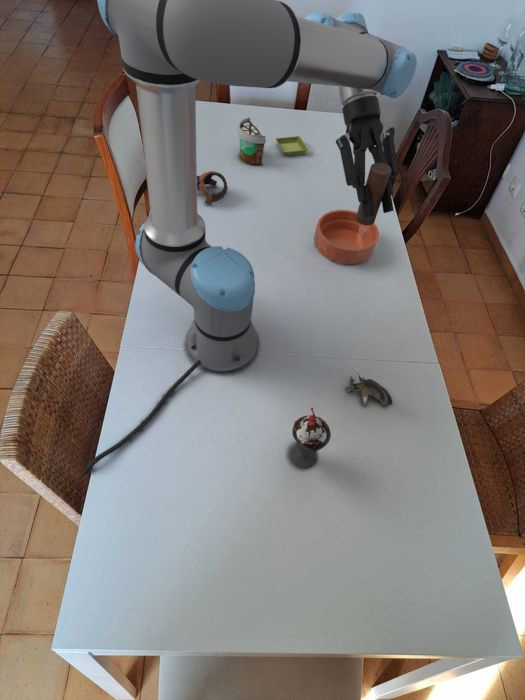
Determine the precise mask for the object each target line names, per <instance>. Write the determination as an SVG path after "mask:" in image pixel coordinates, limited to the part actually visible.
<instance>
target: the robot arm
mask: <svg viewBox="0 0 525 700" xmlns="http://www.w3.org/2000/svg"><path fill="white" fill-rule="evenodd" d="M97 6H98V10H99V14H100V16H101V20H102V21H103V23H104V25H105V26H106V27H107V29H108V31H109V32H110V33H111V34H112V35H113V36H114V37H115V38H117V39H118V41H119V48H120V55H121V64H122V70H123V73H124V74H125V75H126V76H127V77H128V78H129V79H131V81H133V82H134V83H135V89H136V97H137V105H138V115H139V124H140V125H139V126H140V133H141V142H142V152H143V159H144V167H145V168H144V169H145V179H146V186H147V187H146V188H147V196H148V204H149V213H150V214H149V215H147V216H146V218H145V219H144V222H143V223H142V225H141V226H140V228H139V232H140V233H138V234H137V235H136V238H135V252H136V256H137V258H138V260H139V261H140V263H141V264H142V265H143V267H144V268H145V269H146V270H147V271H148V272H149V273H151V274H152V275H153V276H155V277H156V278H157V279H159V280H160V281H161V282H162V283H163V284H165V286H167V287H168V288H169V289H171V290H172V291H174V293H176V294H177V295H178V296H179V297H180V298H182V299H183V300H184V301H185V302H186V303H187V304H189V306H191V307H192V309H193V317H194V319H193V322H192V324H191V326H190V328H189V331H188V333H187V341H186V342H187V350H188V353H189V355H190V357H191V359H192V360H193V361H194V363H193V364H192V365H191V367H189V369H187V370H186V371H185V372H184V373H183V374H182V375H181V376H180V378H178V379H177V380H176V382H174V383H173V384H172V386H171V387H170V388H168V390H167V391H166V392H165V394H164V395H163V396H162V397H161V399H160V400H159V401H158V403H157V405H155V407H154V408H153V410H151V412H150V413H148V415H147V416H146V417H145V418H144V419H143V420H142V421H141V422H140V423H139V424H138V425H137V426H136V427H135V428H134V429H133V430H132V431H130V432H129V433H128V434H127V435H125V436H124V437H123V438H122V439H121V440H119V441H118V442H117V443H116V444H114V445H112V446H110V447H109V448H108V449H106V450H104V451H103V452H100V453H99V454H98V455H97V456H95V457H93V459H91V460H90V462H89V463H88V464H87V465H86V467H85V468H84V470H83V472H82V474H83V475H84V476H85V475H88V474H89V472H90V471H91V469H92V468H93V467H94V466H95V465H96V464H97V463H98V462H99V461H101V460H102V459H103V458H105V457H107V456H109V455H110V454H112V453H113V452H115V451H116V450H118V449H120V448H121V447H123V445H125V444H126V443H128V442H129V441H130V440H131V439H132V438H133V437H134V436H136V434H138V433H139V432H140V431H141V430H142V429H144V427H145V426H146V425H147V424H148V423H149V422H150V421H151V420H152V419H153V418H154V417H155V416H156V414H157V413H158V412H159V410H160V409H161V408H162V406H163V405H164V403H165V402H166V401H167V399H168V398H169V397H170V396H171V395H172V393H173V392H174V391H175V390H176V389H178V387H179V386H180V385H181V384H182V383H183V382H184V381H185V380H186V379H187V378H188V377H189V376H190V375H191V374H192V373H193V372H194V371H195V370H196V368H198V367H201V368H202V369H205V370H207V371H210V372H214V373H232V372H235V371H238V370H240V369H243V368H244V367H246V366H247V365H248V364H249V363H250V362H251V361H252V360H253V359H254V357H255V355H256V353H257V349H258V336H257V331H256V329H255V327H254V324H253V322H252V317H253V315H252V314H253V305H254V297H255V293H256V283H255V281H256V280H255V272H254V269H253V265H252V264H251V262H250V260H249V259H248V258H247V257H246V256H245V255H244V254H243V253H241V252H240V251H238V250H236V249H233V248H231V247H226V248H223V246H221V245H218V246H217V245H216V246H212V245H211V244H209V243H208V242H207V240H206V239H207V238H206V235H207V234H206V222H205V220H204V218H203V217H202V216H201V215H200V214H199V213H198V186H197V176H198V172H197V171H198V169H197V167H198V166H197V112H196V111H197V109H196V108H197V107H196V105H197V103H196V86H197V85H198V84H199V83H200V82H205V83H209V84H214V85H222V86H231V87H242V88H243V87H245V88H260V89H276V88H278V87H281V86H284V84H285V83H287V82H288V83H289V82H291V83H300V84H301V83H302V84H309V85H310V84H311V85H321V86H322V85H323V86H331V87H332V86H333V87H338V91H339V98H340V103H341V105H342V109H341V110H342V115H343V116H342V117H343V122H344V125H345V127H346V129H345V133H344V134H343V135H340V136H339V137H337V138H336V139H335V144H336V145H337V148H338V150H339V152H340V158H341V162H342V167H343V173H344V178H345V183H346V185H347V186H349V187H352V188H353V189H355V190H356V191H355V192H356V195H357V196H356V197H357V201H358V203H360V202H362V208H363V214H364V218H365V217H369V216H373V215H374V212H373V206H372V201H371V195H370V189H369V184H367V185H366V152H367V150H368V152H369V153H370V154H371V157H372V159H373V162H374V163H384V164H387V165H388V166H390V167H391V169H392V172H391V174H390V177H389V180H388V183H387V186H386V189H385V192H384V195H383V198H382V201H381V205H382V212H383V214H387V213H391V212H394V205H393V199H392V197H393V195H394V189H393V182H392V181H393V180H392V179H394V178H395V177H396V176H398V175H399V168H398V158H397V153H396V145H395V140H394V138H395V131H396V129H395V127H393V126H391V127H390V128H389V127H385V126H384V125H383V123H382V121H381V107H380V101H379V97H378V96H376V95H377V94H380V95H381V96H386V97H388V98H391V99H397V98H399V97H401V96H402V95H403V94H404V93H405V92H406V90H408V88H409V86H410V84H411V82H412V80H413V79H414V76H415V72H416V69H417V60H418V59H417V55H416V54H415V52H413V51H411V50H410V49H407V48H406V47H404V46H403V45H400V44H399V45H398V44H396V43H394V42H391V41H389V40H386V39H385V38H382V37H379V36H377V35H374V34H371V33H370V32H369V30H368V28H367V23H366V19H365V16H364V15H363V14H362V13H360V12H347V13H344V14H341V15H339V16H337V17H336V18H334V17H332V16H331V15H329V14H327V13H322V12H319V11H318V12H312V13H310V14H308V15H307V16H306V17H300V16H298V15H297V14H296V12H295V11H294V10H293V9H292V7H290V5H288V4H287V3H285V2H283V1H280V0H97ZM381 139H382V140H381ZM351 144H352V146H351Z"/></svg>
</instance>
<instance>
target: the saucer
mask: <svg viewBox="0 0 525 700" xmlns="http://www.w3.org/2000/svg"><path fill="white" fill-rule="evenodd" d="M275 141H276V144H277V145H278V146H279V148H280V149H281V151H282V153H283V155H285V156H294V155H295V156H297V155H303V154H305V153H307V152H308V151H309V148H308V147H307V145H306V144H305V142H304V140H303V139H302V138H301V136H299V135H298V136H297V135H296V136H288V137H287V136H285V137H276V138H275Z"/></svg>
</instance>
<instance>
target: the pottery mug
mask: <svg viewBox="0 0 525 700" xmlns="http://www.w3.org/2000/svg"><path fill="white" fill-rule="evenodd" d="M214 176H217V177H218V178H219V179H221V181H222V182H223V187H222V189H221V190H220V191H218V192H212V193H211V194H210V193H209V189H207V187H206V186H207V185H209V186H212V187H216V186H217V183H218V181H217V180H215V179H214V178H213V177H214ZM228 189H229V187H228V183H227V180H226V178H225V176H224V175H223V174H221V172H218V171H214V170H212V171H211V170H210V171H206V172H204V173H202V174H200V175H197V190H200V191H201V193H202V194H203V196H204V197H205V200H204V203H205V204H206V205H209V206H210V205H212V204H215V203H217V202H219V201H221V200H222V199H224V198H225V196H226V195H227V192H228Z"/></svg>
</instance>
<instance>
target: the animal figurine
mask: <svg viewBox="0 0 525 700" xmlns="http://www.w3.org/2000/svg"><path fill="white" fill-rule="evenodd" d="M355 371H356V373H357V375H358V379H359V382H357V383H355V379H354V378H353V377H352V376H351V375H350V376H349V378H350V379H349V380H348V381H349V382H348V383H349V386H348V389H347V393H351V392H353V391H355V390H357V391H358V390H360V394H361V398H362V406H365V405H366V404H367V402H368V395H370V396H374V397H375V398H376V400H378V401H379V402H380V403H381V404H382V405H383V406H392V405H393V398H392V397H391V394H389V392H388V391H387V390H386V388H385V387H383V386H382V385H381V384H379V382H377V381H375V380H374V379H371V378H365V377H364V376H363V375H362V374H361V373H360V371H359V370H358V368H355Z"/></svg>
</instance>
